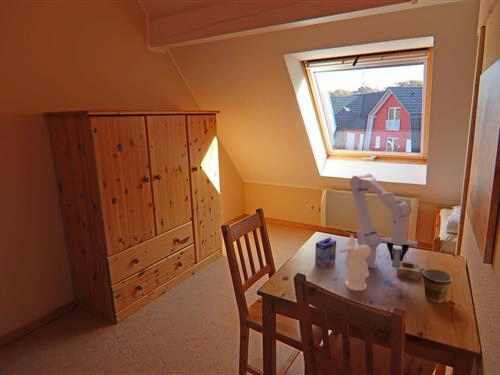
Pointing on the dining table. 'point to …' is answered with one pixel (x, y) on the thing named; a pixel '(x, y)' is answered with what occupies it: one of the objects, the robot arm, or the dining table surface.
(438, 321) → the dining table surface
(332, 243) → the ink cartridge box
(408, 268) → the socket block
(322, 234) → the dining table surface
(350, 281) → the cherub figurine
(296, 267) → the dining table surface
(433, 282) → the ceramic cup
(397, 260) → the dowel
